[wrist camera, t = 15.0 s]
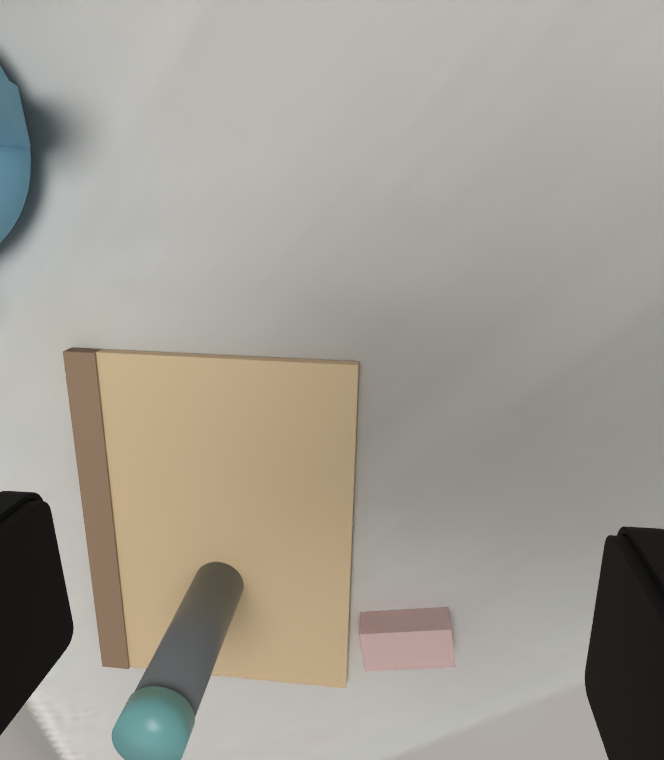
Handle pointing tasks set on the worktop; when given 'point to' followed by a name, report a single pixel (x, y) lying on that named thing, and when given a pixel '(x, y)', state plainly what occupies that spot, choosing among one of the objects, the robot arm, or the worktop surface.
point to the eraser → (406, 639)
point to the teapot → (12, 156)
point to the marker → (179, 669)
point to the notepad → (219, 501)
